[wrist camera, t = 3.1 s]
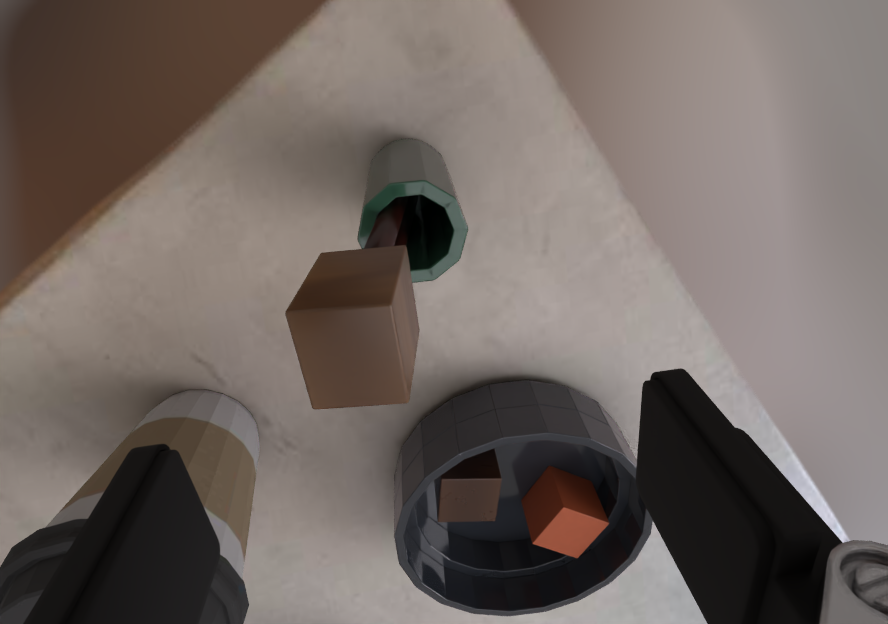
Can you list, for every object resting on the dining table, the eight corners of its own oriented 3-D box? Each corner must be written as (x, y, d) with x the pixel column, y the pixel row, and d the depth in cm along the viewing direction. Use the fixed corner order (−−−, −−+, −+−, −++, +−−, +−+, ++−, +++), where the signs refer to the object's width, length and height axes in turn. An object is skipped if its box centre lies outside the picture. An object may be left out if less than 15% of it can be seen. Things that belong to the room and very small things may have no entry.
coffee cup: (83, 434, 37) (-93, 665, 24) (183, 329, 34) (46, 528, 20) (224, 514, 41) (144, 746, 28) (324, 427, 38) (287, 643, 25)
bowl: (657, 395, 39) (698, 453, 34) (575, 555, 47) (598, 623, 41) (423, 357, 36) (428, 415, 31) (376, 535, 44) (374, 606, 38)
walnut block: (492, 437, 39) (502, 478, 35) (487, 478, 41) (495, 521, 37) (436, 437, 39) (441, 479, 35) (433, 479, 40) (437, 523, 37)
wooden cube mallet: (430, 149, 29) (391, 303, 14) (437, 207, 30) (409, 404, 15) (378, 155, 29) (283, 312, 14) (388, 212, 31) (311, 410, 15)
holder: (456, 146, 30) (478, 192, 22) (437, 225, 32) (451, 292, 24) (376, 128, 29) (369, 168, 21) (362, 210, 31) (350, 274, 23)
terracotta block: (591, 481, 42) (609, 523, 38) (562, 515, 43) (577, 558, 40) (549, 465, 41) (563, 507, 37) (520, 500, 42) (532, 543, 39)
